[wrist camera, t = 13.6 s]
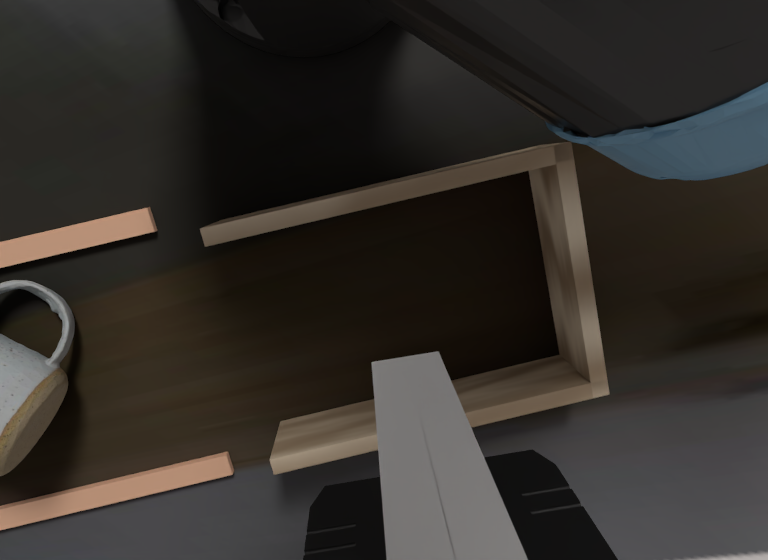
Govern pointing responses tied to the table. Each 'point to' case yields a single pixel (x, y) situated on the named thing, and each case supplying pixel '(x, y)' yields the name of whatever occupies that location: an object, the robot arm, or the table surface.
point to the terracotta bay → (126, 485)
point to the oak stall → (481, 391)
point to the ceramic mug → (30, 382)
